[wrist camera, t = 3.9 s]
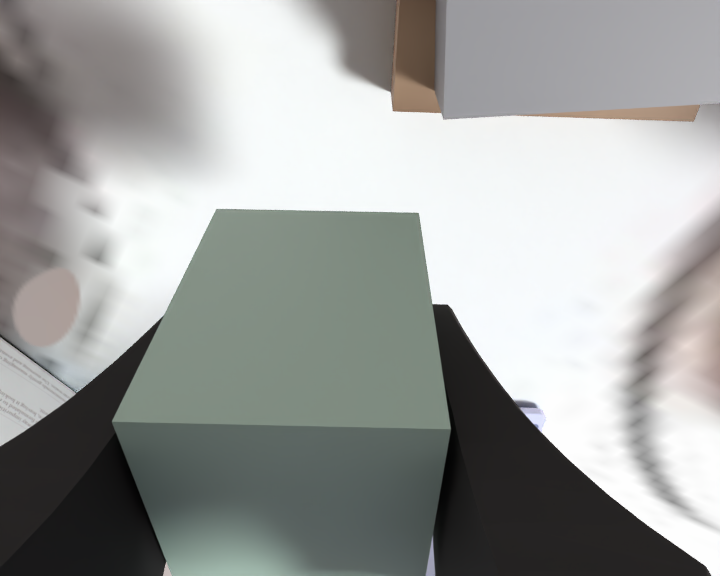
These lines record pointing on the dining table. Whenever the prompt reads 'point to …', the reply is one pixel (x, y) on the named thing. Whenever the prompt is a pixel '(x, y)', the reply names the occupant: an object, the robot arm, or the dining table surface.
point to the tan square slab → (418, 71)
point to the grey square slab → (574, 55)
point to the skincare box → (25, 392)
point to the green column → (293, 400)
